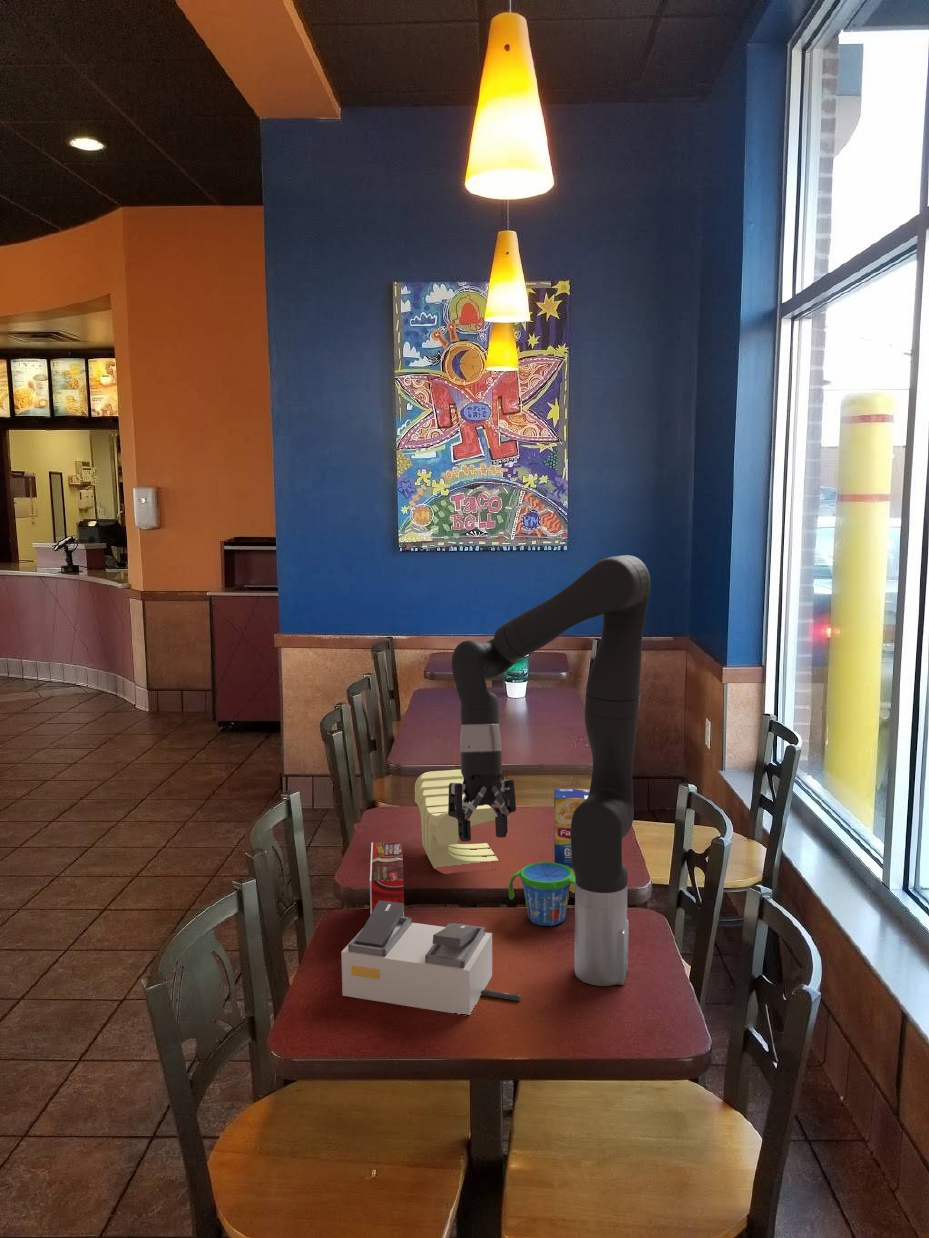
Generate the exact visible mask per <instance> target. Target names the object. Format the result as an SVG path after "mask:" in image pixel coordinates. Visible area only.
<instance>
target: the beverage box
mask: <svg viewBox="0 0 929 1238" xmlns="http://www.w3.org/2000/svg"><path fill="white" fill-rule="evenodd" d="M553 791H554V793H553V794H554V800H553V803H554V804H553V805H554V806H553V807H554V822H553V823H554V824H553V825H554V828H553V829H554V833H553V834H554V835H553V836H554V839H553V840H554V841H553V842H554V851H553V855H554V856H553V860H554V861H553V863H558V864H562V865H565V866H567V867H568V868H570V869H571V870H572V873H573V875H574V876H575V872H574V870H573V867H572V859H571V821H572V816H573V813H574V811H575V809H576V808H577V807H578V806H579V805H580V804H581V803H582V802H583V801H585V800H586V799H587V798H588V795H589V791H590V788H554V789H553ZM569 891H571V892H572V893H575V884H574V883H571V884H570V890H569Z"/></svg>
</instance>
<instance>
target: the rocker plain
mask: <svg viewBox="0 0 929 1238" xmlns="http://www.w3.org/2000/svg"><path fill="white" fill-rule="evenodd" d="M458 924H459V923H456V924H452V925H450V926H448V927H446V926H445V927H446V928H445V929H443V930H441V931H439V932H438V933H436V934H434V935H433V944H439V945H446V946H453V947H461V946H463V945H464V944H466V943H467V942H469V941H470V940H472V939H473V938H475V937H476V936H477V934H478V927H473V926H474V925H471V926H465V925H466V924H464V925H458Z"/></svg>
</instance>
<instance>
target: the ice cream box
mask: <svg viewBox="0 0 929 1238" xmlns="http://www.w3.org/2000/svg"><path fill="white" fill-rule="evenodd" d="M370 843H371V846H370V847H371V848H370V850H371V851H370V868H369V869H370V871H369V897H370V898H369V900H370V901H369V902H370V903H369V905H370V908H369V909H370V912H369V913H370V915H371V914H372V912H373V910H374V908H375V906H376V905H377V903H378V901H379V900H381V901H389V902H397V903H404V904H405V892H404V889H405V887H404V886H405V885H404V883H405V882H404V862H403V861H404V859H403V842H402V841H379V842H378V841H377V842H373V841H372V842H370ZM401 916H403V917H405V910H404V911H403V913H402V915H401Z"/></svg>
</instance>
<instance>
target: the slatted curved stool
mask: <svg viewBox="0 0 929 1238" xmlns="http://www.w3.org/2000/svg"><path fill="white" fill-rule="evenodd" d="M463 780H464V777H463V775H462V774H461V768H460V769H450V770H447V769H446V770H435V771H434V770H433V771H427V772H424V773H421V774H420V775H419V776H418V778H417V779H416V781H415V784H414V802H415V803H416V804H417V806H418V809H419V814H420V824H421V845H422V848H423V849H424V852H425V853H426V855H427V857H428V860H429V862H430V864H431V865H432V867H433V869H435V868H437V867H444V866H452V865H461V864H470V863H480V862H491V861H499V859H498V857H497V855H496V854H495V853H494V851H493V850H492V848H491V847H490V846H489V843H488V842H487V843H486V842H484V843H459V841H460V838H459V836H458V820H457V819H456V818H454V817H450V816H449V815H448V802H449V784H450V783H461V784H462V783H463ZM464 796H465V793H464V794H462V800H463V798H464ZM469 803H470V802H469ZM495 817H497V815H496V814H495V812H494V810H493V809H492V808H491V807H490V806H489V805H483V806H477V808H476V810H474V811H473V813H472V814H471V816H470V818H469V820H470V826H471V827H473V826H475V825H479V824H483V823H489V822H495ZM507 820H510V814H509V815H508V816H507ZM488 848H490V849H488ZM470 849H477V850H470ZM493 855H495V856H493ZM482 856H487V857H482Z"/></svg>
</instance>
